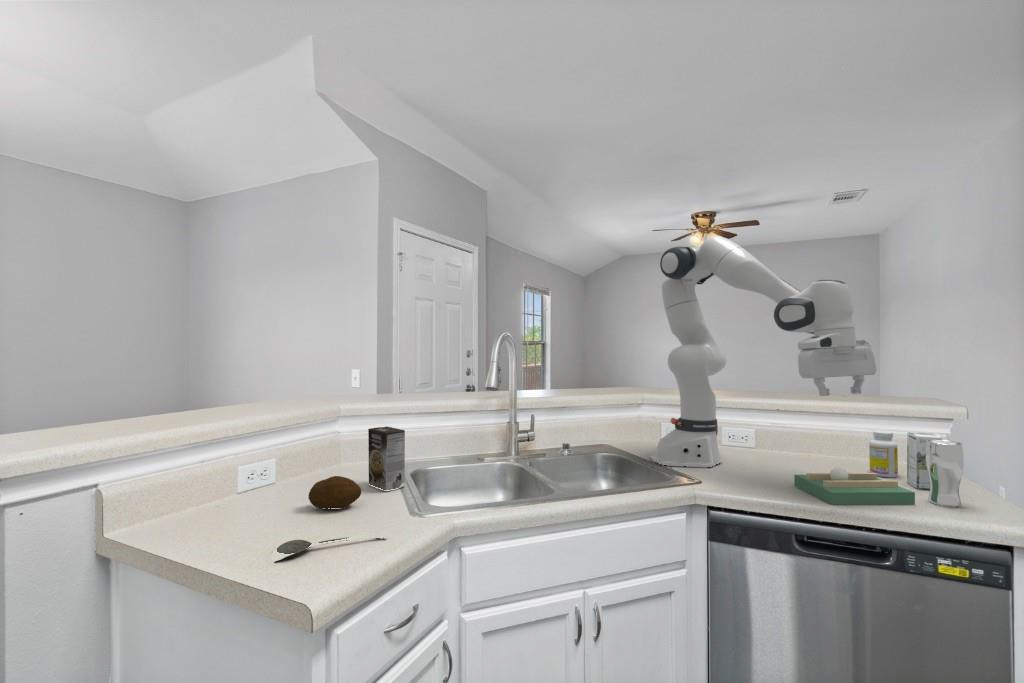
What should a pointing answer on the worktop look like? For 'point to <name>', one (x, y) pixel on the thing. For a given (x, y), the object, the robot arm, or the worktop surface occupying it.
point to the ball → (838, 474)
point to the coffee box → (386, 457)
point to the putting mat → (855, 489)
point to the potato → (334, 493)
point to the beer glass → (944, 471)
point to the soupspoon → (297, 546)
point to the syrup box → (918, 459)
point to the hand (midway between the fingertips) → (840, 394)
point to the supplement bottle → (883, 454)
